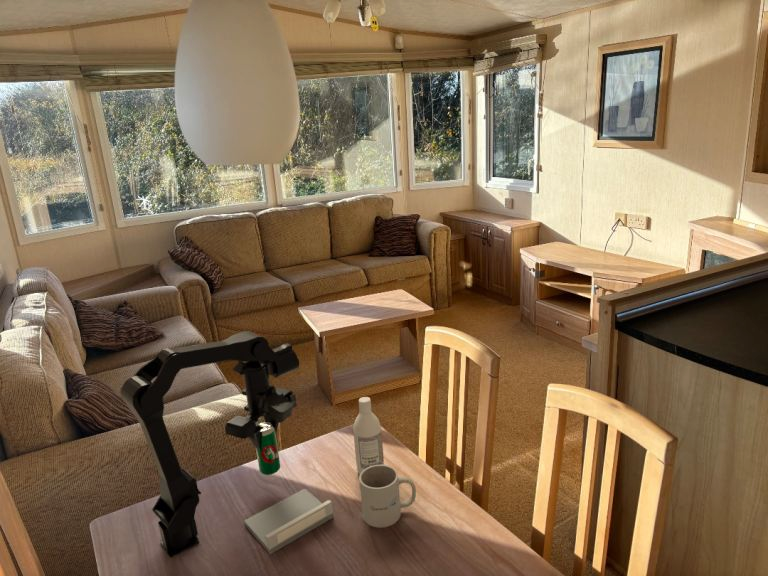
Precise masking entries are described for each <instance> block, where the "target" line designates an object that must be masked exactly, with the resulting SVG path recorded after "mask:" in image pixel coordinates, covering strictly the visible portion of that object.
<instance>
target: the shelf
mask: <svg viewBox="0 0 768 576" xmlns="http://www.w3.org/2000/svg"><path fill="white" fill-rule="evenodd" d="M333 518H334V511H333V503H332V501H331V500H330V499H328V500H326V501H324V502H321V501H320V500H319V499H318V498H317V497H316V496H314V495H313V494H312V493H311V492H310V491H309V490H308V489H306V488H302V489H301V490H299V491H298V492H295V493H294V494H291V495H289V496H288V497H285V498H284V499H282V500H281V501H279V502H278V501H277V503H274V504H273V505H271V506H269V507H267V508H266V509H263V510H262V511H259V512H258V513H256V514H254V515H252V516H250V517H249V518H246V519H244V520H243V522H244V526H245V527H246V528H247V529H248V531H249V532H250V533H251V534H252V535H253V536H254V537H255V538H256V540H257V541H258V542H259V543H260V545H261V546H263V548H264V549H265V550H266V551H267V552H268V553H269V555H272V554H273V553H275V552H276V551H279V550H281V549H282V548H284V547H285V546H287V545H289V544H291V543H292V542H294V541H297V540H298V539H299V538H300V537H303V536H304V535H306V534H308V533H310V532H311V531H312V530H314V529H316V528H317V527H319V526H321V525H323V524H325V523H326V522H328V521H329V520H332V519H333Z"/></svg>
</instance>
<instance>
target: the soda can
mask: <svg viewBox="0 0 768 576" xmlns="http://www.w3.org/2000/svg"><path fill="white" fill-rule="evenodd" d="M259 426H262V427H263V429H262V430H261V431H260V435H261V449H257V448H256V447H255V451H256V459H257V463H258V470H259V472H260V474H262V475H264V476H271V475H275V474H276V473H277V472H278V471H279V470H280V468H281V462H280V455H279V447H278V441H277V433H276V434H275V428H274V427H273V425H272V424H271V423H269V422H265V421H264V422H260V423H259Z"/></svg>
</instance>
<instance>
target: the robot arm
mask: <svg viewBox="0 0 768 576" xmlns="http://www.w3.org/2000/svg"><path fill="white" fill-rule="evenodd" d="M226 361H237V364H235V365H234V367H233V368H232V371H233V372H234V373H236V374H238V375H240V376H242V377H243V383H244V389H242V390H241V395H242V396H246V402H247V404H246V405H245V406H243V408H244V412H245V411H246V412H249V413H248V414H247V416H241V415H236V416H234V417H233V418H231V419H229V420H228V421H227V422H226V423H225V424H224V430H225V431H224V432H225V434H226V435H229V436H231V437H235V438H238V439H241V440H243V439H247V438H248V439H249V440H250V442H251V443H252V444H253V446H254V447H255V449H256V448H257V449H261V435H260V431H261V430H262V429H263V427H262V426H259V424H260V423H259V422H260V421H259V420H260V419H262V418H264V422H269V423H271V424H272V425H273V427H274V428H275V434H276V435H277V432H278V426H279V423H280V424H281V423H284V422H285V420H286V419H288V418H290V417H291V416H292V415H293V414H292V413H293V410H294V408H296V407H297V406H298V405H297V397H296V393H295V392H294V391H292V390H289V389H285V388H281V387H277V388H276V387H275V385H272V384H271V381H270V380H271V379H270V376H272V377H274V378H279V377H282V376H284V375H286V374H288V373H292V372H294V371H296V370H298V369H299V367H300V359H299V358H298V355H297V353H296V352H295V351H294V349H293V345H292V344H290V343H286V342H285V343H284V344H282V345H280V346H278V347H276V348H273V349H272V348H271V347H270V346H269V341H268V340H267V338H266V337H264V336H261V335H259V334H257V333H254V332H252V331H249V330H244V331H241V332H238V333H234V334H232V335H231V336H229V337H227V338H226V339H223V340H218V341H213V342H206V343H200V344H194V345H193V344H192V345H188V346H187V345H185V346H180V347H172V348H171V347H167V348H162V350H160V351H159V353H158V354H156V356H155V357H154V358H152V360H150V361H148V362H147V363H146V364H144V365H143V366H141V367H140V368H139V369H138V370H137V371H136V372H135V373H134V375H133V376H132V377H131V376H130V378H128V379H126V381H125V382H124V383H123V384H122V386H121V387H120V397H121V398H122V399H123V401H124V403H125V404H126V406H127V408H128V409H129V410H130V411H131V413H132V415H134V417H135V418H136V420H137V421H138V422H139V425H140V427H141V429H142V432H143V434H144V437H145V441H146V442H147V445H148V449H149V451H150V453H151V456H152V458H153V461H154V464H155V466H156V468H157V471H158V474H159V484H158V487H159V493H160V494H159V495H160V496H159V497H158V499H157V500H156V501H155V504H154V506H153V508H152V509H151V511H152V512H153V514H154V515H155V516H156V517H157V518H158V519H159V521H158V522H157V525H158V530H159V532H160V533H159V534H160V538H161V539H160V544H161V546H162V547H163V549H164V551H165V552H166V554H167V556H168V557H169V558H173V557H175V556H177V555H179V554H181V553H182V552H184V551H186V550H189V549H190V548H192V547H194V546H196V545H197V544H199V543H200V539H199V537H197V536H198V535H199V532H198V528H197V522H196V518H195V515H196V510H197V507H198V505H199V503H200V495H202V491H200V490H199V487H198V482H197V479H196V477H194V476H193V474H191V473H190V472H189V471H188V470H187V469H186V468H185V467H181V465H180V462H179V460H178V456H177V453H176V451H175V450H176V449H175V448H174V445H173V443H172V440H171V436H170V434H169V431H168V429H167V426H166V423H165V420H164V411H165V403H164V397H165V396H166V394H167V393H168V392H169V391H170V389H171V388H172V385H173V383H174V381H175V379H176V377H177V375H178V373H179V372H180V371H181V370H182V369H188V368H194V367H200V366H205V365H211V364H217V363H221V362H226Z"/></svg>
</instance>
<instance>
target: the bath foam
mask: <svg viewBox="0 0 768 576" xmlns="http://www.w3.org/2000/svg"><path fill="white" fill-rule="evenodd" d="M358 409H359V410H358V411H359V414H358V415H356V416H357V417H356V418H355V420H354V421H353V429H352V431H353V432H352V433H353V440H354V441H353V442H354V452H355V460H356V470H357V472H358V474H359V475H360V474H361V472H362V471H363V470H364V469H366V468H368V467H370V466H373V465H385V459H384V447H383V446H384V445H383V435H382V426H381V422H380V420H379V418H378V416H376V414H374V412H373V411H372V401H371V398H370V397H369V396H363V397H360V398H359V399H358Z"/></svg>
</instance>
